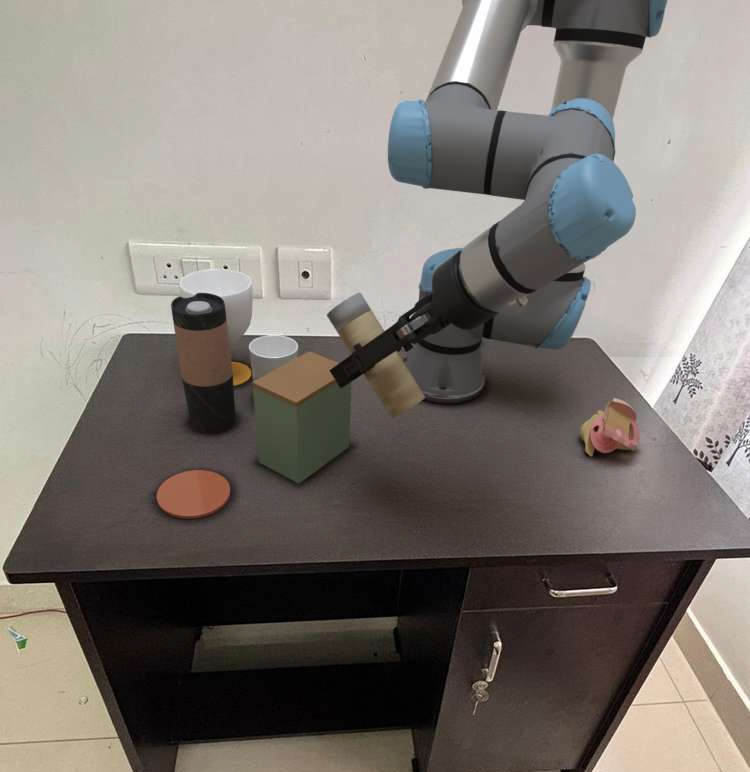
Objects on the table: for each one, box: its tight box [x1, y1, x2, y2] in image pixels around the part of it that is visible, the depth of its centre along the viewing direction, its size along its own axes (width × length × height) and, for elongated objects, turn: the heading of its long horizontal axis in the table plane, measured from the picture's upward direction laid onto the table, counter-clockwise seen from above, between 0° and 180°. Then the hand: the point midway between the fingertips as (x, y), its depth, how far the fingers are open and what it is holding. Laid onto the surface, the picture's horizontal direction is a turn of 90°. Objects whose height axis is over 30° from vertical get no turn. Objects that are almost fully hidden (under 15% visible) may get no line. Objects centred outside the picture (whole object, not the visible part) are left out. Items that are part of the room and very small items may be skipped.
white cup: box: [248, 334, 299, 382], centre depth 106 cm, size 8×8×10 cm
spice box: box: [251, 351, 352, 484], centre depth 93 cm, size 8×12×14 cm, turn 144°
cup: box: [178, 268, 254, 387], centre depth 109 cm, size 12×12×17 cm
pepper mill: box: [326, 291, 425, 419], centre depth 79 cm, size 14×5×14 cm, turn 54°
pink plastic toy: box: [579, 397, 640, 457], centre depth 101 cm, size 9×10×10 cm
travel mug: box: [170, 293, 236, 434], centre depth 96 cm, size 8×8×20 cm
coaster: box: [156, 469, 231, 520], centre depth 88 cm, size 10×10×1 cm
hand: (350, 369), depth 82 cm, fingers closed on pepper mill, 5 cm apart
